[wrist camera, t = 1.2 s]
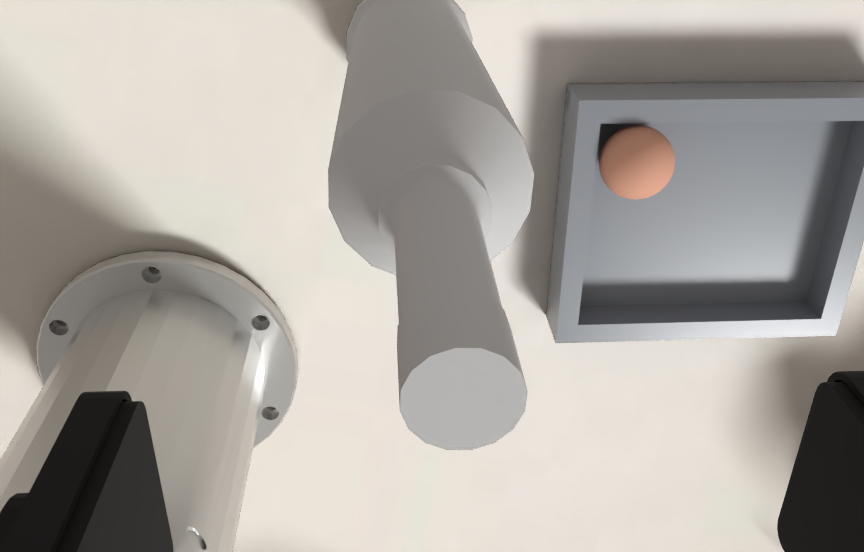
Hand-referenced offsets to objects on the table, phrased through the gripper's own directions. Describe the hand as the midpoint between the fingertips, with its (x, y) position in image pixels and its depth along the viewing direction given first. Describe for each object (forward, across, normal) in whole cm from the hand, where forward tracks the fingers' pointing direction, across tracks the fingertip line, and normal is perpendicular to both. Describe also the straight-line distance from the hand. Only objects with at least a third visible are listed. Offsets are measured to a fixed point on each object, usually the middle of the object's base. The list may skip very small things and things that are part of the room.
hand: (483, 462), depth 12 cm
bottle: (+27, 0, 0) cm, 27 cm away
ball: (+26, -10, +5) cm, 28 cm away
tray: (+27, -14, +8) cm, 31 cm away
